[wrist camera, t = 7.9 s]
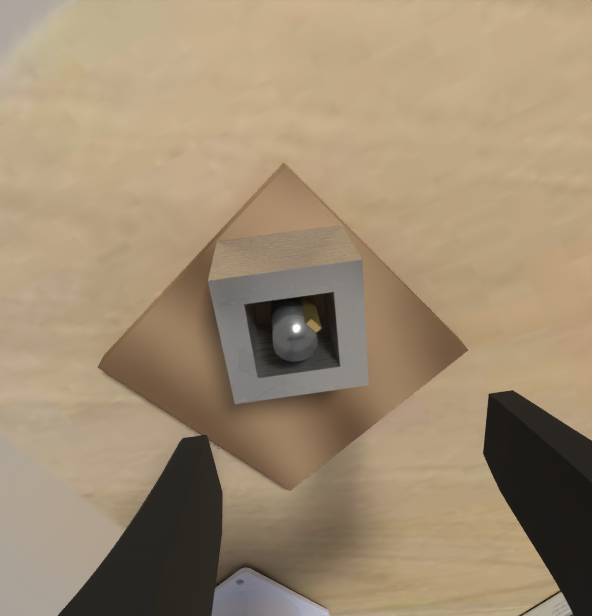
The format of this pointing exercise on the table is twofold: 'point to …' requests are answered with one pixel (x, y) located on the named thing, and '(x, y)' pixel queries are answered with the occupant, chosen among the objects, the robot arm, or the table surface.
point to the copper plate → (206, 339)
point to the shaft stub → (295, 327)
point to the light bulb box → (552, 607)
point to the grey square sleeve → (280, 285)
